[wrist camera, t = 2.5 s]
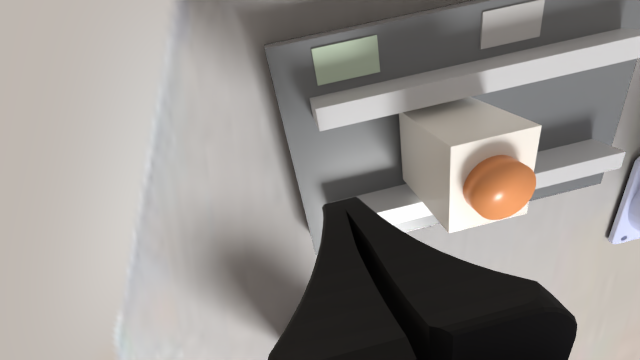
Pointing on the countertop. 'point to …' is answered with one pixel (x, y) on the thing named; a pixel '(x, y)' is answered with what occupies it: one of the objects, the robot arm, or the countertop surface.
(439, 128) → the breaker knob
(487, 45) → the grey flat ridged block
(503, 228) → the countertop surface
